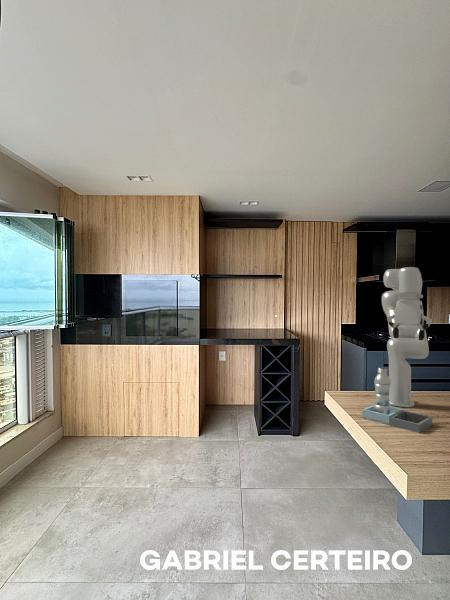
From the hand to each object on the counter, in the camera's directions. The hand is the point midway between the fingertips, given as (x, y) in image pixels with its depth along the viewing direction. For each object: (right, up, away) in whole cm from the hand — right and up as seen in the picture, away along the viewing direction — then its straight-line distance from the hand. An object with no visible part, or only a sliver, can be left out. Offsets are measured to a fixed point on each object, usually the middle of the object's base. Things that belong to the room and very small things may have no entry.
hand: (408, 339), depth 145 cm
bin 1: (-9, -33, +2) cm, 35 cm away
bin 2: (-2, -33, -6) cm, 34 cm away
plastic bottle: (-10, -33, +3) cm, 34 cm away
